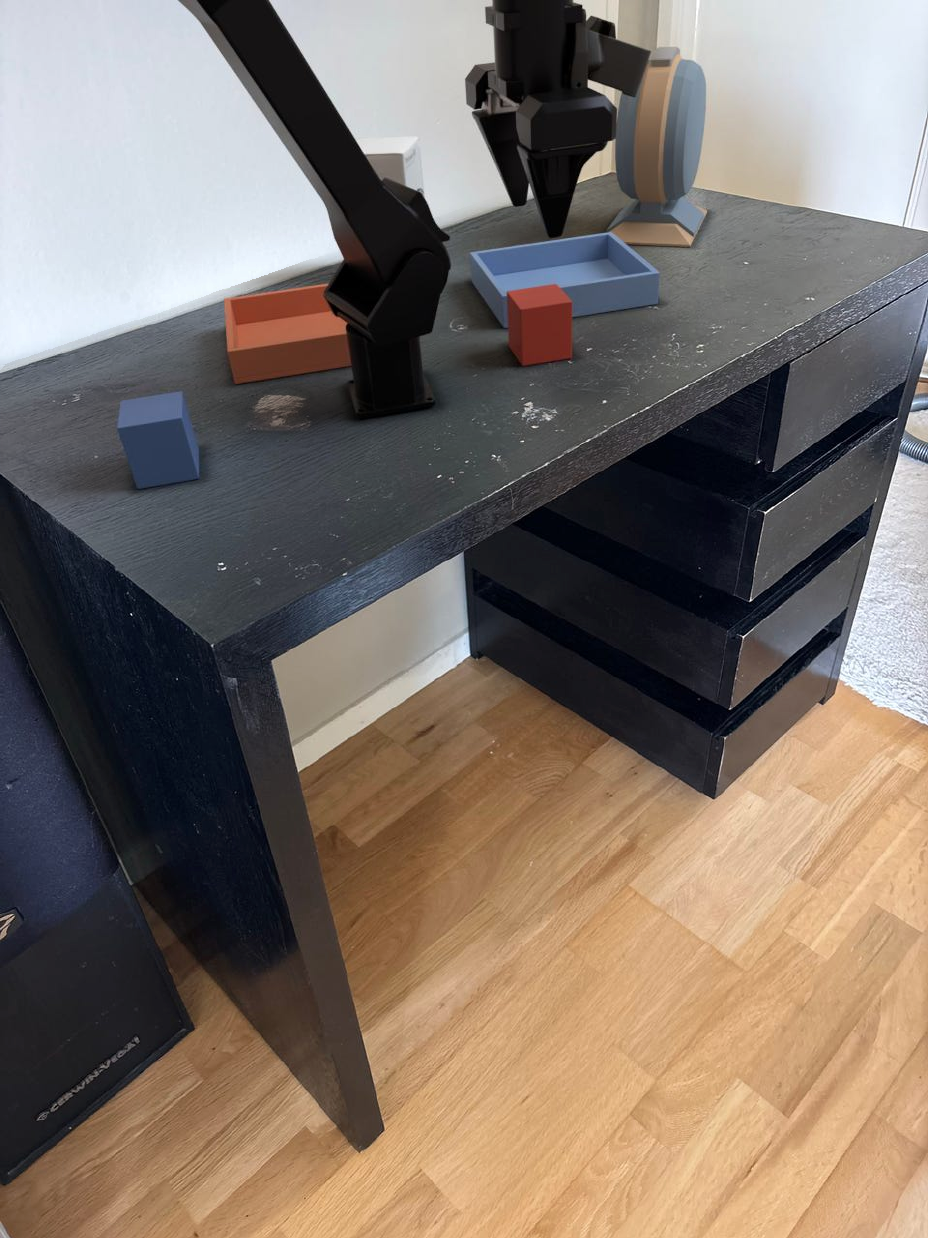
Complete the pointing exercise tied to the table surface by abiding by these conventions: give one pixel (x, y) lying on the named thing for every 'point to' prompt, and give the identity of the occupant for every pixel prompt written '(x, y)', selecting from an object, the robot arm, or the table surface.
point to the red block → (539, 324)
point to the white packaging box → (395, 159)
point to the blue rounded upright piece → (661, 152)
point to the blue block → (158, 439)
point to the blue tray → (568, 274)
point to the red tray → (283, 334)
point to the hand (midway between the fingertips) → (536, 220)
